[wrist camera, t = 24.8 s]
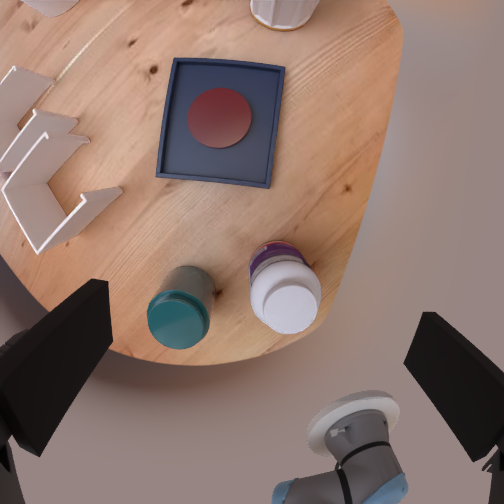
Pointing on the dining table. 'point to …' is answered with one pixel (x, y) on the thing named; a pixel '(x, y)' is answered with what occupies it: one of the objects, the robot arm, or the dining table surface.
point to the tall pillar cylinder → (51, 6)
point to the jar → (182, 308)
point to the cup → (282, 13)
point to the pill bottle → (283, 288)
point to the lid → (219, 118)
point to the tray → (233, 158)
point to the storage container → (41, 163)
